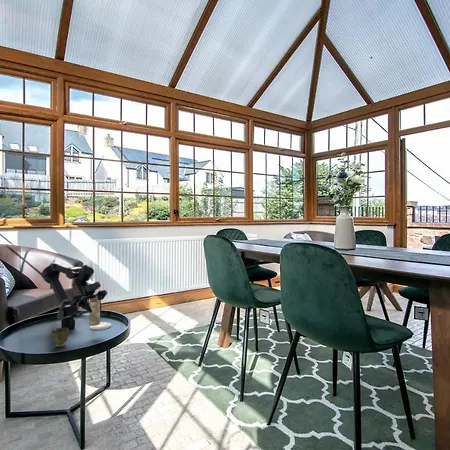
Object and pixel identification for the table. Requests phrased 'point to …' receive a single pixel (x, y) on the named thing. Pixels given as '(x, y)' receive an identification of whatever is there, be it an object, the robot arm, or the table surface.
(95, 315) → the pepper mill
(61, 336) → the cup
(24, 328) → the table surface
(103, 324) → the plate
